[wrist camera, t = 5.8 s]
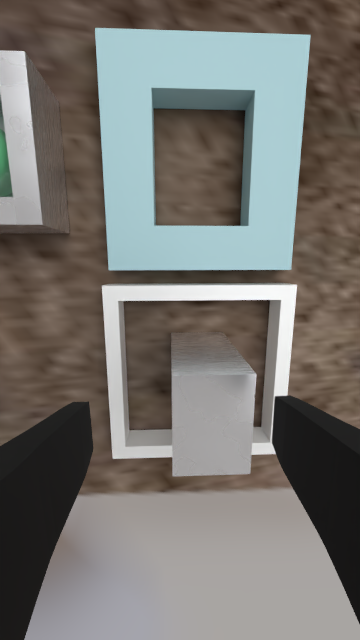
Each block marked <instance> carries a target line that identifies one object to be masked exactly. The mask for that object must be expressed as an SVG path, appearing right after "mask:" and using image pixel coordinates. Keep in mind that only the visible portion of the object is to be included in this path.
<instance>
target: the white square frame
mask: <svg viewBox="0 0 360 640" xmlns="http://www.w3.org/2000/svg"><path fill="white" fill-rule="evenodd" d="M296 290H297V285H294V284H288V283H166V284H106V285H103V286H102V296H103V312H104V328H105V344H106V360H107V376H108V392H109V408H110V424H111V440H112V456H113V459H123V458H157V457H172V429H162V430H129V410H128V389H127V367H126V345H125V324H124V302H123V301H176V300H270V306H269V320H268V335H267V349H266V364H265V379H264V393H263V408H262V422H261V427H253V436H252V452H251V455H257V454H276V452H275V450H274V447H273V445H272V430H273V415H274V400H275V396H287V392H288V380H289V369H290V358H291V347H292V335H293V324H294V313H295V302H296Z"/></svg>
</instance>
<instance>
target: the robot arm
mask: <svg viewBox="0 0 360 640" xmlns="http://www.w3.org/2000/svg"><path fill="white" fill-rule="evenodd" d="M272 445H273V447H274V450H275V452H276V455H277V457H278V460H279V462H280V465H281V467H282V469H283V471H284V473H285V475H286V476H287V478H288V480H289V482H290V484H291V485H292V487H293V489H294V491H295V492H296V494H297V496H298V498H299V500H300V501H301V503H302V505H303V507H304V508H305V510H306V512H307V514H308V516H309V517H310V519H311V521H312V523H313V524H314V526H315V528H316V530H317V532H318V533H319V535H320V537H321V539H322V541H323V543H324V545H325V547H326V549H327V552H328V554H329V556H330V558H331V560H332V562H333V565H334V567H335V569H336V571H337V573H338V576H339V578H340V580H341V582H342V585H343V587H344V589H345V591H346V594H347V596H348V598H349V601H350V603H351V605H352V607H353V610H354V612H355V615H356V616H357V619H358V621H359V624H360V429H358V428H356V427H354V426H352V425H350V424H348V423H345V422H343V421H341V420H339V419H337V418H335V417H333V416H331V415H329V414H327V413H326V412H324V411H322V410H320V409H318V408H316V407H314V406H312V405H310V404H308V403H306V402H304V401H302V400H300V399H297V398H295V397H292V396H275V400H274V415H273V430H272ZM92 452H93V440H92V429H91V418H90V408H89V402H72V403H70V404H68V405H67V406H65V407H63V408H62V409H60V410H58V411H57V412H55V413H54V414H52V415H51V416H49V417H48V418H46V419H44V420H43V421H41V422H40V423H38V424H37V425H35V426H33V427H32V428H30V429H29V430H27V431H25V432H24V433H22V434H20V435H19V436H17V437H15V438H14V439H12V440H10V441H8V442H7V443H5V444H3V445H2V446H0V640H24V638H25V635H26V632H27V629H28V625H29V622H30V619H31V616H32V613H33V610H34V607H35V604H36V600H37V597H38V594H39V591H40V589H41V586H42V582H43V580H44V576H45V574H46V570H47V568H48V564H49V562H50V559H51V556H52V554H53V551H54V549H55V546H56V543H57V541H58V539H59V537H60V534H61V532H62V530H63V527H64V525H65V523H66V520H67V518H68V516H69V513H70V511H71V509H72V506H73V504H74V502H75V500H76V497H77V495H78V493H79V490H80V488H81V485H82V483H83V481H84V478H85V476H86V473H87V469H88V466H89V463H90V459H91V456H92Z"/></svg>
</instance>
